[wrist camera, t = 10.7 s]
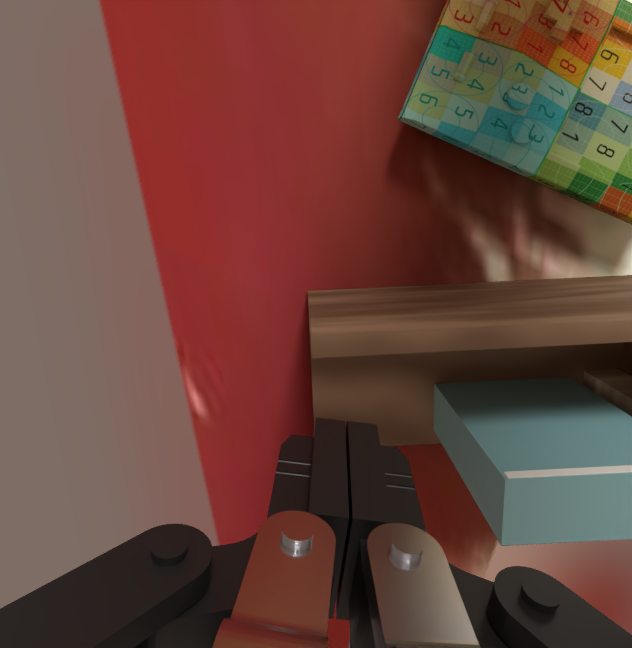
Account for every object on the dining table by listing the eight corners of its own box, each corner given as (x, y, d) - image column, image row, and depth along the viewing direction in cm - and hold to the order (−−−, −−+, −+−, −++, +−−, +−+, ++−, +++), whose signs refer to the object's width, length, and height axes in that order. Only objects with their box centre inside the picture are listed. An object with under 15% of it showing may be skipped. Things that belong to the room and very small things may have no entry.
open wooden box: (307, 290, 39) (311, 341, 25) (633, 275, 39) (820, 315, 25) (314, 441, 42) (322, 563, 28) (616, 425, 42) (774, 536, 28)
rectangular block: (434, 383, 39) (505, 479, 26) (570, 376, 39) (712, 468, 26) (433, 430, 40) (501, 546, 27) (566, 423, 40) (701, 535, 27)
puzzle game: (485, -82, 29) (762, 59, 32) (460, -44, 34) (703, 77, 36) (403, 114, 32) (666, 231, 34) (390, 125, 36) (622, 228, 39)
